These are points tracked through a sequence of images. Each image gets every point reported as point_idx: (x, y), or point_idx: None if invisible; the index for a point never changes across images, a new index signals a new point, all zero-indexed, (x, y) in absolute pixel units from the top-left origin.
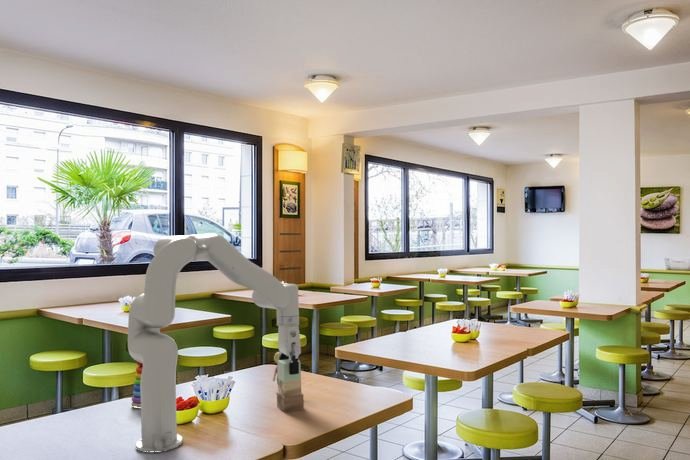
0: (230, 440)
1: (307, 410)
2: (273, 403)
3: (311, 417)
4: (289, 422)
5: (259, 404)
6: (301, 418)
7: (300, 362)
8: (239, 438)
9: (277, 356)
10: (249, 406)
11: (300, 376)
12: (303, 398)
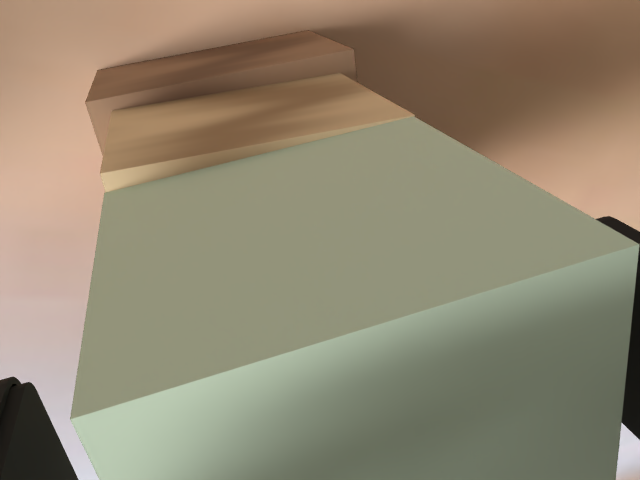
0: (629, 476)
1: (361, 3)
2: (36, 286)
3: (547, 13)
4: (559, 198)
5: (41, 395)
6: (528, 100)
7: (620, 236)
8: (630, 446)
9: None
10: (82, 459)
11: (437, 137)
12: (339, 43)
